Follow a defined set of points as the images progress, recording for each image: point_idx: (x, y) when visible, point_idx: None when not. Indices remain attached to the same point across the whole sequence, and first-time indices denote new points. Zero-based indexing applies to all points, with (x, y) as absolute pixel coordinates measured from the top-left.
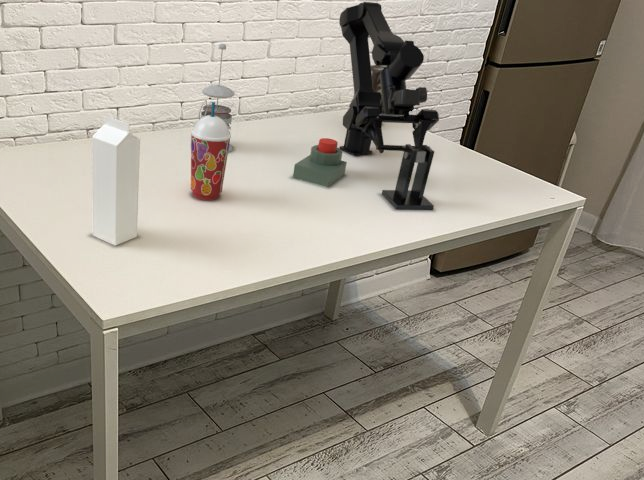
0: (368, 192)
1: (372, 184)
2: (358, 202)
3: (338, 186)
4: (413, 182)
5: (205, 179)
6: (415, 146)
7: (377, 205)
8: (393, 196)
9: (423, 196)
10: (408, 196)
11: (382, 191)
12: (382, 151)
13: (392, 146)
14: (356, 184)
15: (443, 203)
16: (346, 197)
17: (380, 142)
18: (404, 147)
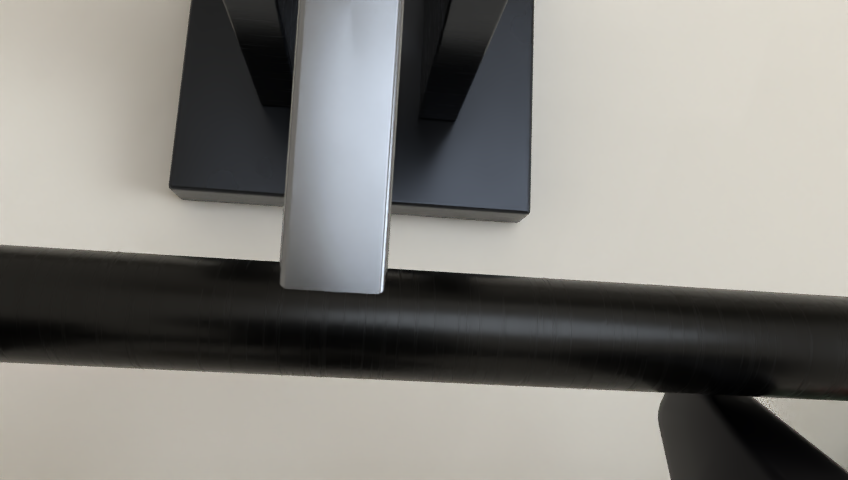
0: (613, 278)
1: (501, 472)
2: (765, 83)
3: (836, 416)
4: (289, 47)
5: None
6: (32, 278)
7: (635, 21)
8: (489, 64)
9: (193, 49)
10: None
11: (527, 206)
12: None
13: (606, 297)
14: (659, 468)
15: (17, 20)
16: (831, 179)
17: (843, 475)
18: (389, 164)
